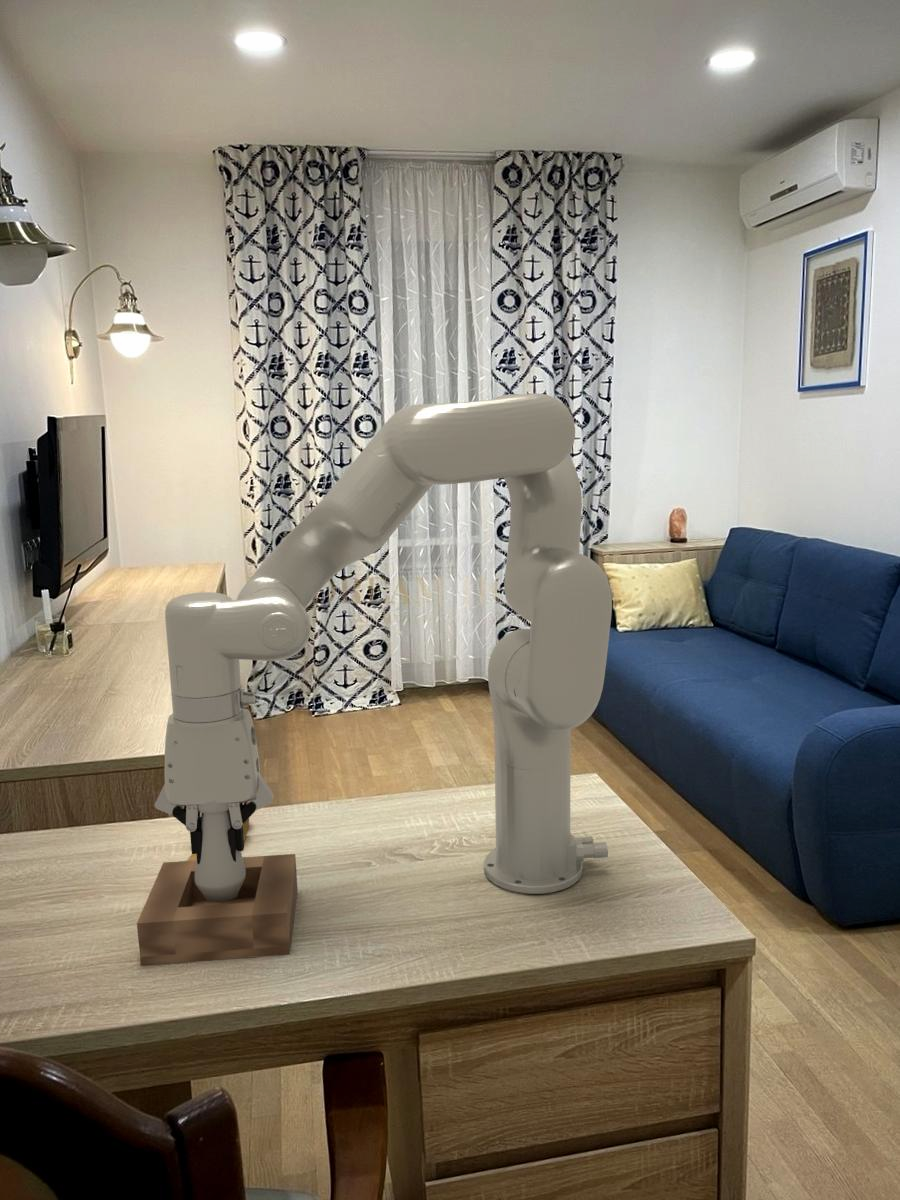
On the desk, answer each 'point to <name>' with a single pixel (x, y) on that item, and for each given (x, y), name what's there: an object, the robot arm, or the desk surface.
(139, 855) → the desk surface
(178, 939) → the socket block
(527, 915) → the desk surface
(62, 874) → the desk surface
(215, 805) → the grey rounded peg
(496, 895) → the desk surface
